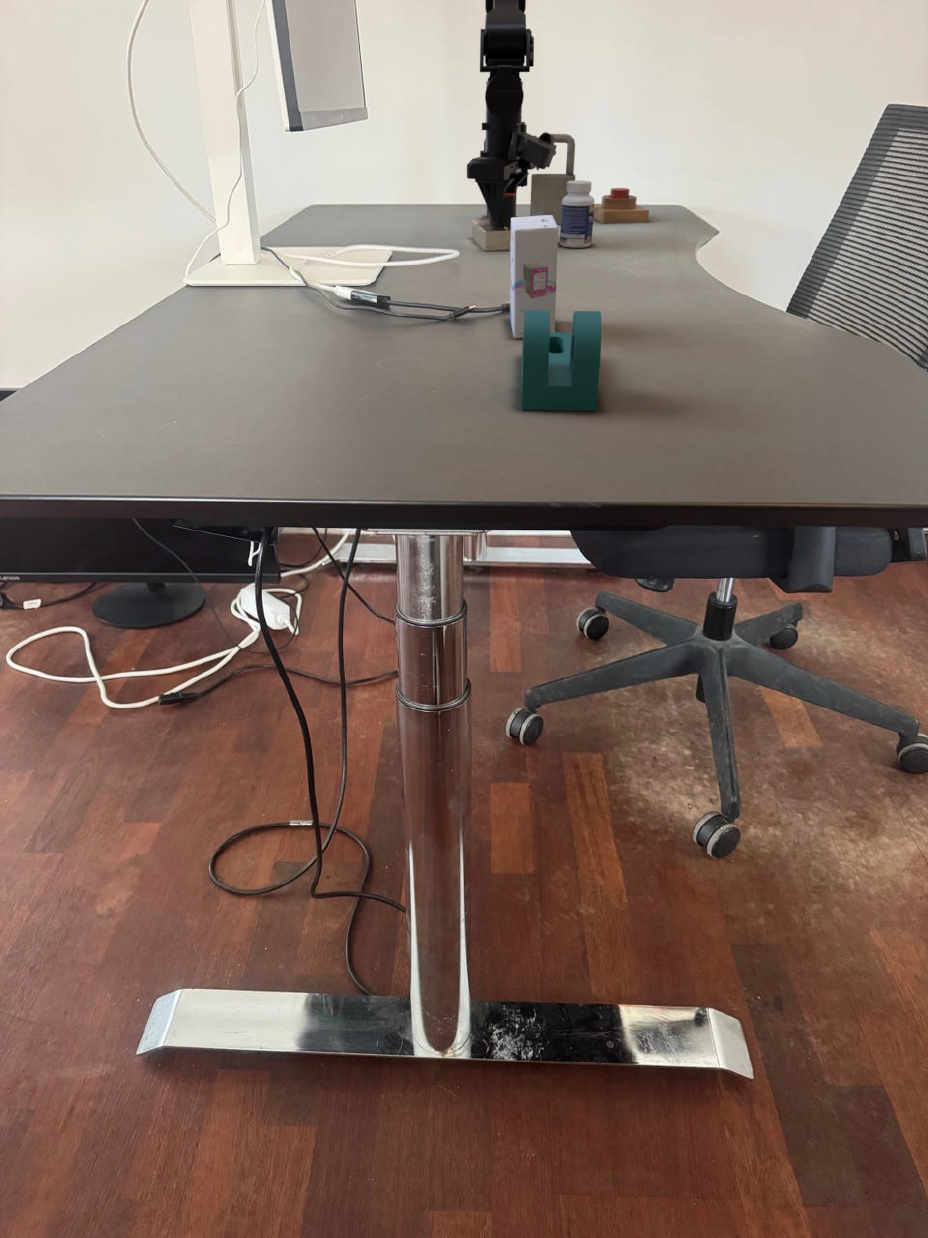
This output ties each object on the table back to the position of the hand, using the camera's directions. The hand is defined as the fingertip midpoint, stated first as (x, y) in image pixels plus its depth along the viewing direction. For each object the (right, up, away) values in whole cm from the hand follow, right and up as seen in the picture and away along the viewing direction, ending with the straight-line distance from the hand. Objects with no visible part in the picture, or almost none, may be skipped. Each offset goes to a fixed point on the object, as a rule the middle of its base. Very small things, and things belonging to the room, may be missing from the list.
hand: (501, 221), depth 147 cm
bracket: (+3, -44, -61) cm, 75 cm away
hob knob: (0, 0, 0) cm, 0 cm away
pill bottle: (+13, -4, 0) cm, 13 cm away
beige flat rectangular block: (+1, -3, +2) cm, 4 cm away
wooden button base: (+24, +11, +24) cm, 36 cm away
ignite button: (+24, +15, +22) cm, 36 cm away
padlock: (+10, +9, +21) cm, 25 cm away
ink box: (+1, -33, -45) cm, 56 cm away
